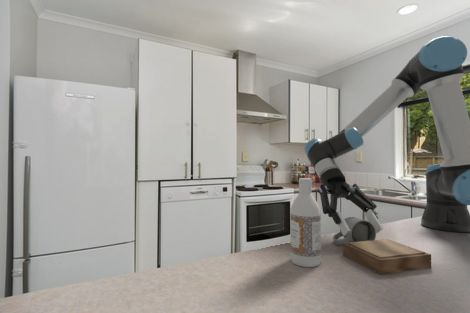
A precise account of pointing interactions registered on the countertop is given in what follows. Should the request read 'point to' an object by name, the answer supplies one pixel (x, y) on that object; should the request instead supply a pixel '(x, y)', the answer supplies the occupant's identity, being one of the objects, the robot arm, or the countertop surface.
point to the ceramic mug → (356, 231)
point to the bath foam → (305, 227)
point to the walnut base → (386, 256)
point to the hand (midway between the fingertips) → (363, 232)
